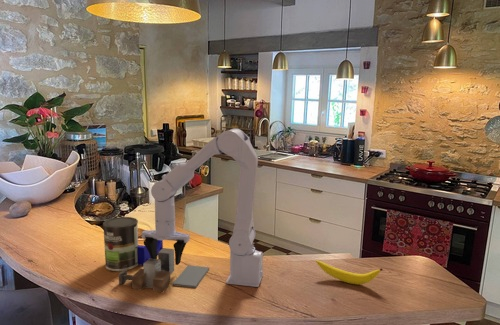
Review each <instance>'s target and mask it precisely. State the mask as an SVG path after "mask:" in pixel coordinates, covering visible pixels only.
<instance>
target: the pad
mask: <svg viewBox="0 0 500 325" xmlns="http://www.w3.org/2000/svg"><path fill="white" fill-rule="evenodd" d="M208 271H210V266H209V267H208V266H200V265H190V264H187V265H186V267H184V270H182V272H181V273H180V274H179V275H178V277H176V279H174V281H173V282H172V286H176V287H183V288H184V287H185V288H191V289H192V288H194V289H196V288H198V286H199V284H200V283H201V281H203V279H204V278H205V276H206V275H207V273H208Z"/></svg>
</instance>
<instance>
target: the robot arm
mask: <svg viewBox="0 0 500 325" xmlns="http://www.w3.org/2000/svg"><path fill="white" fill-rule="evenodd" d="M222 153H224V154H225V155H227V156H229V157H231V158H232V159H233V160H234V161H235V162H237V164H238V165H239V178H238V188H237V198H236V199H237V201H236V214H235V221H234V225H233V230H232V235H231V237H230V238H229V241H228V248H229V250H230V252H229V255H230V257H229V258H230V261H229V262H230V267H229V270H230V271H229V273H230V274H229V275H228V278H227V279H226V280H225V283H226V284H227V285H229V284H230V285H235V286H247V287H253V288H254V287H255V288H258V287H259V286H260V284H261V281H262V278H263V275H264V272H263V269H264V268H263V267H264V255H263V251H259V250H257V249H256V247H255V244H254V240H255V238H256V235H257V233H256V229H255V228H254V206H255V198H256V197H255V196H256V185H257V178H258V177H257V176H258V175H257V174H258V166H259V157H258V155H257V152H256V151H255V149H254V147H253V145H252V143H251V140H250V137H249V136H248V135H247V134H246V133H245V132H244V131H243V130H241V129H239V128H231V129H229V130H225V131H222V132H221V133H220V134H219V135H217V136H215V137H214V138H212V139H211V140H209V141H208V142H207V143H206V144H204V146H203V147H202V148H201V149H200V150H198V152H196V153H195V154H194V155H193V156H192V157H191V158H190V159H189V160H188V161H187V162H186V161H185V162H183V161H180V162H179V163H178V162H177V163H175V164H173V165H172V167H173V168H172V169H171V170H170V171H169V172H167V173H166V174H163V175H162V176H161V179H160V180H158V181H155V182H154V184H153V185H152V186H151V189H150V195H151V196H152V198H153V199H154V219H155V220H154V223H155V227H154V228H155V229H154V230H151V229H150V230H143V231H142V232H141V239H144V241H143V246H146V248H147V250H148V252H149V254H150V257H151V259H158V255H157V243H158V240H163V241H172V242H173V241H175V243H173V249H174V265H175V266H178V265H180V263H181V262H182V261H181V260H182V257H183V256H182V255H183V252H184V249H185V247H186V245H187V243H189V242H190V239H191V237H190V234H188V233H183V232H180V231H176V212H175V211H176V210H175V209H176V206H175V195H176V194H177V192H178V191H179V190H180V189H182V188H183V187H184V186H185V185H186V184H188V183H189V182H190V181H191V180H193V179H194V177H195V170H197V169H198V168H199V167H200V166H202V165H203V164H204V163H205V162H206V161H207V162H208V160H210V158H212V157H213V156H214V155H221V154H222Z"/></svg>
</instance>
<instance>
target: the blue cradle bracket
mask: <svg viewBox="0 0 500 325" xmlns="http://www.w3.org/2000/svg"><path fill="white" fill-rule="evenodd" d="M163 242H164V240H158V243H157V256H158V252H159V251H160V250H161V249H163V248H164V246H163V245H164V244H163ZM137 254H138V265H137V266H143V264H144V263H145V262H146V261H147V260H148V259H149V258H150V259H151V257H150V254H149V252H148V250H147V248H146V246H145V245H144V244H143V245H140V244H138V247H137Z"/></svg>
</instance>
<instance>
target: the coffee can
mask: <svg viewBox="0 0 500 325" xmlns="http://www.w3.org/2000/svg"><path fill="white" fill-rule="evenodd" d="M138 223H139V221H138V219H137V218H135V217H131V216H119V217H113V218H109V219H106V220H105V221H103V223H102V227H103V239H104V242H103V243H104V258H105V259H104V260H105V265H104V266H105V269H106V270H108V271H112V272H122V271H123V270H124V269H125V270H127V271H128V270H131V269H134V268H136V267H137V266H139V265H138V254H137V247H138V245H139V233H138V232H139V230H138Z"/></svg>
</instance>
